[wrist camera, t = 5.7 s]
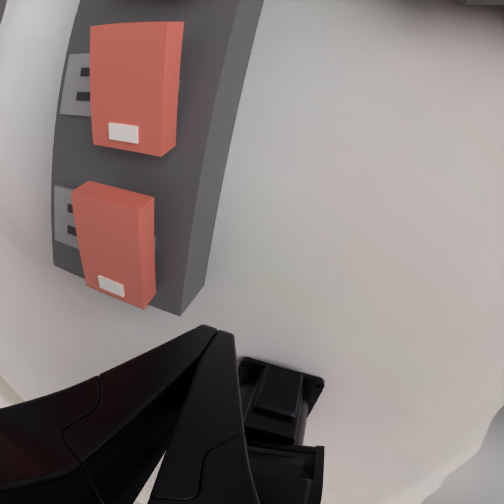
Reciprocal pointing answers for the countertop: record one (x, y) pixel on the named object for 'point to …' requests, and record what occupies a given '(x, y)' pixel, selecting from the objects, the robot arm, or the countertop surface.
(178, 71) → the plate
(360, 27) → the countertop surface
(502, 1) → the toy
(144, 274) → the red rectangular block
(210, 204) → the power strip
